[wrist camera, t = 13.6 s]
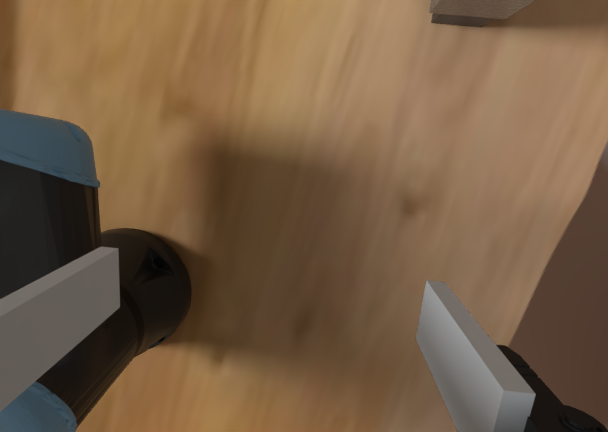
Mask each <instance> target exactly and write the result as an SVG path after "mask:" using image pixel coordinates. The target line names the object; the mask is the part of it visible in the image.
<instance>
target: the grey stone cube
mask: <svg viewBox="0 0 608 432" xmlns="http://www.w3.org/2000/svg"><path fill="white" fill-rule="evenodd" d="M534 1H535V0H431V3H430V10H429V13H437V14H449V15H460V16H472V17H484V18H495V19H506V18H508V17H509V16H511V15H513V14H514V13H516V12H517V11H519V10H521V9H522V8H524V7H526V6H527V5H529V4H531V3H532V2H534Z"/></svg>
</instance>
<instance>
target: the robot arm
mask: <svg viewBox="0 0 608 432" xmlns="http://www.w3.org/2000/svg"><path fill="white" fill-rule="evenodd" d="M98 187H99V188H100V182H99V181H98V180H97V176H96V168H95V161H94V154H93V146H92V142H91V140H90V138H89V136H88V135H87V133H86V132H85V131H84V130H83V129H81V128H80V127H79V126H77V125H75V124H73V123H71V122H68V121H63V120H59V119H54V118H49V117H43V116H38V115H32V114H27V113H21V112H15V111H9V110H3V109H0V432H76V431H75V430H76V429H77V427H78V426H79V425H80V423H81V422H82V421H83V420H84V418H85V417H86V416H87V415H88V413H89V412H90V411H91V410H92V408H93V407H94V406H95V405H96V404H97V402H98V401H99V400H100V399H101V397H102V396H103V395H104V394H105V392H106V391H107V390H108V389H109V387H110V386H111V385H112V384H113V382H114V381H115V380H116V379H117V378H118V376H119V375H120V374H121V373H122V372H123V370H124V369H125V368H126V367H127V365H128V364H129V363H130V362H131V361H132V359H133V358H134V357H136V356H138V355H140V354H142V353H143V352H145V351H147V350H148V349H150V348H153V347H155V346H157V345H159V344H160V343H162V342H163V341H165V340H166V339H167V338H168V337H170V336H171V335H172V334H173V333H174V331H175V330H176V329H177V327H178V326H179V325H180V323H181V322H182V321H183V319H184V318H185V316H186V314H187V311H188V309H189V305H190V300H191V285H190V280H189V276H188V273H187V271H186V268H185V266H184V264H183V263H182V261H181V259H180V258H179V257H178V255H177V254H176V253H175V252H174V251H173V250H172V249H171V248H170V247H169V246H168V245H167V244H166V243H164V242H163V241H162V240H160V239H158V238H157V237H155V236H153V235H151V234H149V233H146V232H143V231H139V230H135V229H126V228H120V229H112V230H107V231H104V232H102V233H101V229H100V215H99V202H98ZM416 341H417V343H418V345H419V347H420V349H421V352H422V354H423V356H424V358H425V360H426V363H427V365H428V367H429V369H430V372H431V374H432V376H433V378H434V380H435V383H436V385H437V387H438V389H439V391H440V394H441V396H442V398H443V400H444V403H445V405H446V407H447V409H448V411H449V414H450V416H451V418H452V420H453V422H454V425H455V427H456V429H457V431H458V432H608V430H607V429H606V428H605V426H604V425H602V424H601V423H600V422H599V421H597V420H596V419H595V418H593V417H592V416H590V415H588V414H586V413H585V412H583V411H581V410H578V409H576V408H573V407H570V406H566V405H563V404H562V403H561V402H560V400H559V399H558V398H557V397H556V396H555V395H554V394H553V392H552V391H551V390H550V389H549V388H548V387H547V386H546V385H545V383H544V382H543V381H542V380H541V379H540V378H538V375H537V374H536V373H535V372H534V371H533V370H532V369H530V367H529V365H528V364H527V363H526V362H525V361H524V360H523V359H522V357H521V356H520V355H518V354H517V353H515V352H514V351H512V350H511V349H510V348H508V347H507V346H503V345H496V344H495V343H494V342H493V341H492V340H491V338H490V337H489V336H488V335H487V333H486V332H485V331H484V330H483V328H482V327H481V326H480V325H479V324H478V322H477V321H476V320H475V319H474V317H473V316H472V315H471V314H470V312H469V311H468V310H467V309H466V308H465V306H464V305H463V304H462V303H461V301H460V300H459V299H458V298H457V296H456V295H455V294H454V293H453V292H452V290H451V289H450V288H449V287H448V285H447V284H446V283H445V282H438V281H429V280H426V285H425V291H424V296H423V302H422V307H421V313H420V318H419V324H418V329H417V335H416Z"/></svg>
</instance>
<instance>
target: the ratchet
mask: <svg viewBox="0 0 608 432" xmlns="http://www.w3.org/2000/svg"><path fill="white" fill-rule="evenodd" d="M493 19H494V18H484V17H472V16H460V15H449V14H437V13H433V15H432V21H431V23H440V24H451V25H463V26H475V27H482V26H483V25H485V24H486V23H488V22H489V21H491V20H493Z"/></svg>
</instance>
